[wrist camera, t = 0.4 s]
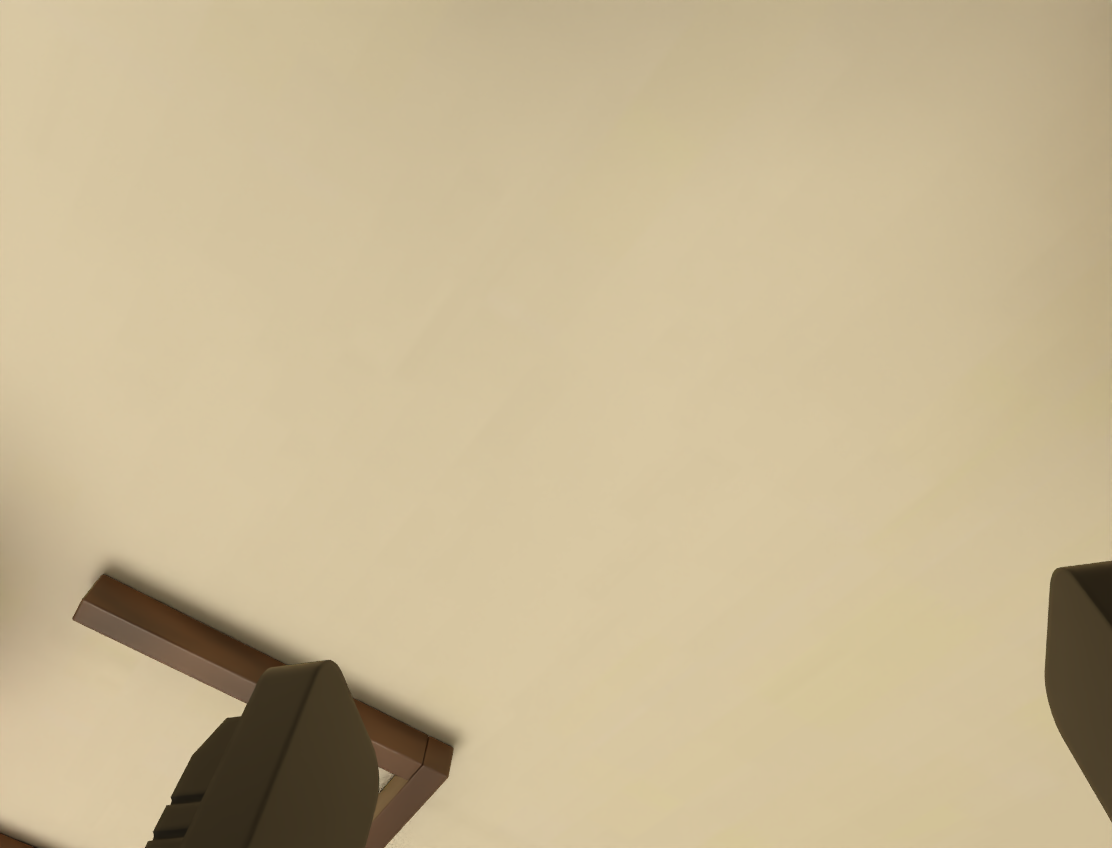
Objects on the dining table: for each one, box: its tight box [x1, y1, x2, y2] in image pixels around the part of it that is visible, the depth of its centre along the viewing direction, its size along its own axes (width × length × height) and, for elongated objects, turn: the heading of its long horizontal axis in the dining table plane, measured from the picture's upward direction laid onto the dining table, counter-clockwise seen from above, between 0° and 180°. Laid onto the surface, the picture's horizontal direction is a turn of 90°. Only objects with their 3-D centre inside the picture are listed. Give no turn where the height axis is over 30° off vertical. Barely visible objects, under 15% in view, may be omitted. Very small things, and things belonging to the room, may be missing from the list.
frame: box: [0, 574, 453, 848], centre depth 38 cm, size 15×18×2 cm
